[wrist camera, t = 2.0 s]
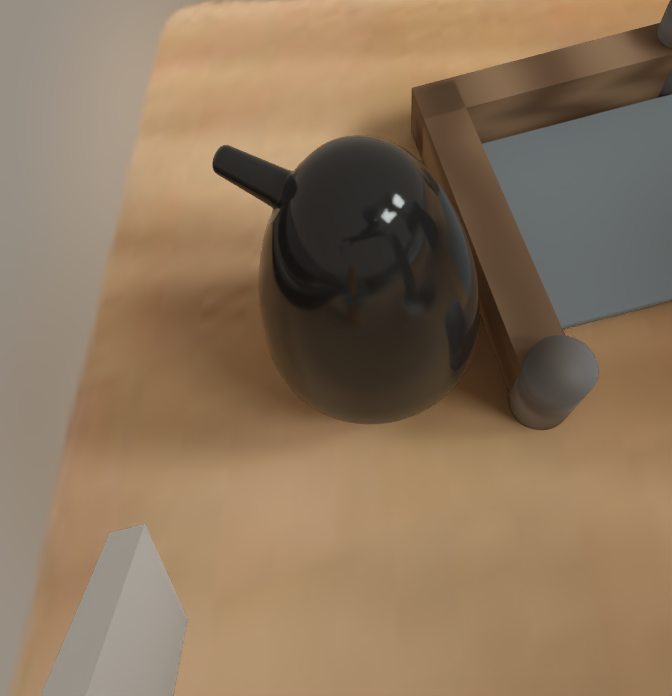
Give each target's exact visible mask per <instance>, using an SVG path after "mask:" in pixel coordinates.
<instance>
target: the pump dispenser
mask: <svg viewBox="0 0 672 696" xmlns="http://www.w3.org/2000/svg"><path fill="white" fill-rule="evenodd" d="M212 165H213V170H214V172H215V173H216V174H218V175H219V176H221V177H223V178H224V179H226V180H228V181H229V182H231V183H233V184H234V185H236V186H238V187H239V188H241V189H243V190H244V191H246V192H248V193H249V194H251V195H253V196H254V197H256V198H258V199H259V200H261V201H263V202H264V203H266V204H268V205H269V206H271V207H272V208H273V210H272V213H271V216H270V219H269V221H268V224H267V228H266V231H265V235H264V239H263V244H262V250H261V257H260V266H259V301H260V310H261V317H262V323H263V328H264V332H265V337H266V341H267V345H268V348H269V351H270V354H271V356H272V359H273V361H274V363H275V365H276V367H277V369H278V371H279V373H280V375H281V376H282V378H283V379H284V381H285V382H286V384H287V385H288V386H289V388H290V389H291V390H292V391H293V392H294V393H295V394H296V395H297V396H298V397H299V398H300V399H301V400H302V401H304V402H305V403H306V404H308V405H309V406H310V407H312V408H314V409H315V410H317V411H319V412H321V413H323V414H325V415H327V416H329V417H332V418H335V419H338V420H341V421H345V422H350V423H357V424H384V423H391V422H395V421H400V420H403V419H406V418H409V417H412V416H414V415H416V414H419V413H421V412H423V411H425V410H426V409H428V408H430V407H431V406H433V405H434V404H436V403H437V402H438V401H440V400H441V399H442V398H443V397H444V396H446V395H447V394H448V393H449V392H450V391H451V390H452V389H453V387H454V386H455V385H456V384H457V383H458V381H459V380H460V378H461V377H462V375H463V374H464V372H465V370H466V369H467V367H468V364H469V362H470V360H471V357H472V355H473V352H474V348H475V345H476V341H477V336H478V330H479V317H480V307H479V288H478V279H477V273H476V267H475V263H474V259H473V255H472V251H471V248H470V245H469V242H468V239H467V236H466V234H465V231H464V229H463V226H462V224H461V222H460V219H459V217H458V215H457V213H456V211H455V209H454V207H453V205H452V203H451V201H450V200H449V198H448V196H447V194H446V193H445V191H444V190H443V188H442V186H441V185H440V184H439V182H438V181H437V179H436V178H435V177H434V175H433V174H432V173H431V172H430V171H429V170H428V169H427V168H426V167H425V165H424V164H422V163H421V162H420V161H419V160H418V159H417V158H416V157H414V156H413V155H412V154H411V153H409V152H408V151H406V150H405V149H403V148H402V147H400V146H398V145H396V144H394V143H392V142H390V141H388V140H385V139H381V138H378V137H373V136H365V135H355V136H346V137H341V138H337V139H334V140H331V141H329V142H327V143H325V144H323V145H322V146H320V147H319V148H317V149H316V150H314V151H313V152H312V153H311V154H310V155H309V156H307V157H306V158H305V159H304V160H303V161H302V162H301V163H300V164H299V165H298V167H297V168H296V169H295V170H294V171H290V170H287V169H284V168H282V167H279V166H277V165H275V164H272V163H270V162H267V161H265V160H262V159H260V158H258V157H255V156H253V155H250V154H248V153H246V152H243V151H241V150H238V149H236V148H233V147H231V146H229V145H223V146H221V147H220V148H219V149H218V150H217V152H216V154H215V156H214V159H213V164H212Z"/></svg>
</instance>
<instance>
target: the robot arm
mask: <svg viewBox="0 0 672 696" xmlns="http://www.w3.org/2000/svg"><path fill="white" fill-rule="evenodd" d="M187 622H188V619H187V617H186V614H185V612H184V610H183V608H182V605H181V603H180V601H179V599H178V596H177V594H176V592H175V590H174V587H173V585H172V583H171V581H170V579H169V576H168V574H167V572H166V570H165V567H164V565H163V563H162V561H161V558H160V556H159V554H158V552H157V549H156V547H155V545H154V543H153V540H152V538H151V536H150V534H149V531H148V529H147V527H146V525H145V524H142V525H138V526H134V527H130V528H126V529H122V530H119V531H115V532H111V533H110V534H109V536H108V538H107V541H106V543H105V545H104V548H103V550H102V553H101V555H100V557H99V560H98V562H97V564H96V567H95V569H94V571H93V574H92V576H91V579H90V581H89V583H88V586H87V588H86V590H85V593H84V595H83V597H82V600H81V602H80V604H79V607H78V609H77V612H76V614H75V616H74V619H73V621H72V623H71V626H70V628H69V630H68V633H67V635H66V637H65V640H64V642H63V645H62V647H61V649H60V652H59V654H58V656H57V659H56V661H55V663H54V666H53V668H52V671H51V673H50V675H49V678H48V680H47V682H46V685H45V687H44V689H43V692H42V694H41V696H173V695H174V690H175V684H176V679H177V674H178V669H179V664H180V658H181V653H182V648H183V643H184V637H185V632H186V627H187Z"/></svg>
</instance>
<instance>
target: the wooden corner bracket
mask: <svg viewBox="0 0 672 696" xmlns="http://www.w3.org/2000/svg"><path fill="white" fill-rule="evenodd" d="M671 94H672V0H671V1H670V2H669V4H668V6H667V9H666V11H665V13H664V15H663V18H662V20H661V22H660V23H658V24H654V25H650V26H646V27H643V28H639V29H635V30H631V31H627V32H623V33H620V34H616V35H612V36H608V37H604V38H601V39H597V40H593V41H589V42H585V43H582V44H578V45H574V46H570V47H566V48H563V49H559V50H555V51H551V52H547V53H544V54H540V55H536V56H532V57H528V58H525V59H521V60H517V61H513V62H509V63H505V64H502V65H498V66H494V67H490V68H486V69H483V70H479V71H475V72H471V73H467V74H464V75H460V76H456V77H452V78H448V79H445V80H441V81H437V82H433V83H429V84H426V85H422V86H418V87H414V88H412V111H411V132H412V134H413V137H414V140H415V142H416V145H417V148H418V150H419V153H420V156H421V158H422V161H423V164H424V165H425V167H426V168H427V169H428V170H429V171H430V172H431V173H432V174H433V175H434V177H435V178H436V179H437V181H438V182H439V184H440V185H441V186H442V188H443V190H444V191H445V193H446V194H447V196H448V198H449V200H450V201H451V203H452V205H453V207H454V209H455V211H456V213H457V215H458V217H459V219H460V222H461V224H462V226H463V229H464V231H465V234H466V236H467V239H468V242H469V245H470V248H471V251H472V255H473V259H474V263H475V267H476V273H477V279H478V288H479V307H480V315H481V318H482V321H483V323H484V326H485V329H486V331H487V334H488V337H489V339H490V342H491V345H492V347H493V350H494V353H495V355H496V358H497V361H498V363H499V366H500V369H501V371H502V374H503V377H504V379H505V382H506V385H507V387H508V390H509V406H510V409H511V411H512V413H513V415H514V416H515V417H516V419H517V420H518V421H519V422H521V423H522V424H523V425H525V426H527V427H529V428H532V429H537V430H547V429H551V428H554V427H556V426H558V425H559V424H560V423H561V422H563V420H564V419H565V418H566V417H567V416H568V415H569V414H570V413H571V412H572V410H573V409H574V408H575V407H576V406H577V405H578V404H579V403H580V401H581V400H582V399H583V398H584V397H585V396H586V395H587V394H588V393H589V391H590V390H591V389H592V388H593V387H594V385H595V384H596V381H597V379H598V374H599V368H598V362H597V360H596V357H595V355H594V354H593V352H592V351H591V350H590V349H589V347H588V346H586V345H585V344H584V343H583V342H581V341H579V340H577V339H575V338H573V337H569V336H565V334H564V331H563V329H562V327H561V325H560V322H559V320H558V318H557V315H556V313H555V311H554V309H553V306H552V304H551V302H550V299H549V297H548V295H547V292H546V290H545V288H544V286H543V283H542V281H541V279H540V276H539V274H538V272H537V270H536V267H535V265H534V263H533V260H532V258H531V256H530V253H529V251H528V249H527V247H526V244H525V242H524V240H523V237H522V235H521V233H520V231H519V228H518V226H517V224H516V221H515V219H514V217H513V214H512V212H511V210H510V208H509V205H508V203H507V201H506V198H505V196H504V194H503V192H502V189H501V187H500V185H499V182H498V180H497V178H496V175H495V173H494V171H493V169H492V166H491V164H490V162H489V159H488V157H487V155H486V152H485V150H484V148H483V146H482V144H483V143H487V142H491V141H495V140H498V139H502V138H506V137H510V136H514V135H518V134H521V133H525V132H529V131H533V130H537V129H541V128H544V127H548V126H552V125H556V124H560V123H564V122H567V121H571V120H575V119H579V118H583V117H586V116H590V115H594V114H598V113H602V112H606V111H609V110H613V109H617V108H621V107H625V106H629V105H632V104H636V103H640V102H644V101H648V100H651V99H655V98H659V97H663V96H667V95H671Z"/></svg>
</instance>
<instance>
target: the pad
mask: <svg viewBox="0 0 672 696" xmlns="http://www.w3.org/2000/svg"><path fill="white" fill-rule="evenodd" d="M482 146H483V148H484V150H485V152H486V155H487V157H488V159H489V162H490V164H491V166H492V169H493V171H494V173H495V175H496V178H497V180H498V182H499V185H500V187H501V189H502V192H503V194H504V196H505V198H506V201H507V203H508V205H509V208H510V210H511V212H512V214H513V217H514V219H515V221H516V224H517V226H518V228H519V231H520V233H521V235H522V237H523V240H524V242H525V244H526V247H527V249H528V251H529V253H530V256H531V258H532V260H533V263H534V265H535V267H536V270H537V272H538V274H539V276H540V279H541V281H542V283H543V286H544V288H545V290H546V292H547V295H548V297H549V299H550V302H551V304H552V306H553V309H554V311H555V313H556V315H557V318H558V320H559V322H560V325H561V327H562V329H565V328H569V327H573V326H576V325H580V324H584V323H588V322H592V321H596V320H600V319H604V318H607V317H611V316H615V315H619V314H623V313H627V312H631V311H635V310H638V309H642V308H646V307H650V306H654V305H658V304H662V303H666V302H669V301H672V94H671V95H667V96H663V97H659V98H655V99H651V100H648V101H644V102H640V103H636V104H632V105H629V106H625V107H621V108H617V109H613V110H609V111H606V112H602V113H598V114H594V115H590V116H586V117H583V118H579V119H575V120H571V121H567V122H564V123H560V124H556V125H552V126H548V127H544V128H541V129H537V130H533V131H529V132H525V133H521V134H518V135H514V136H510V137H506V138H502V139H498V140H495V141H491V142H487V143H483V144H482Z"/></svg>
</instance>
